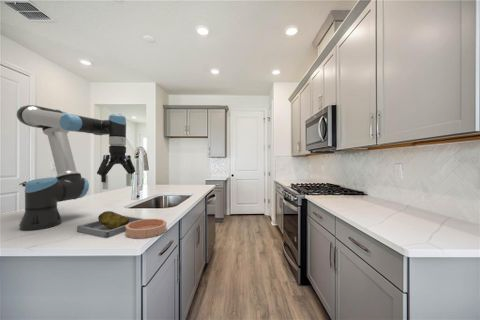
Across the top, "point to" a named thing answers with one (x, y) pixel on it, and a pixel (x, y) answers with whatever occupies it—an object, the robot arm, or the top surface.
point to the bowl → (145, 228)
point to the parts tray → (91, 230)
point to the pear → (112, 219)
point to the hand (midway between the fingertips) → (117, 187)
